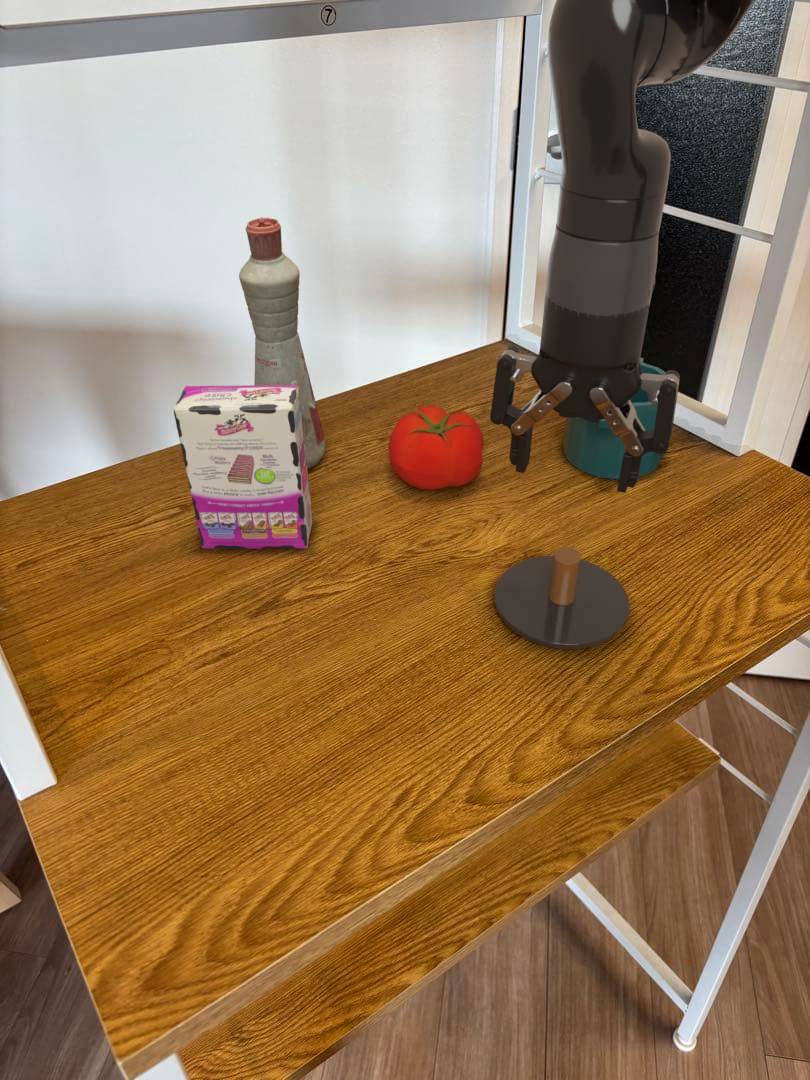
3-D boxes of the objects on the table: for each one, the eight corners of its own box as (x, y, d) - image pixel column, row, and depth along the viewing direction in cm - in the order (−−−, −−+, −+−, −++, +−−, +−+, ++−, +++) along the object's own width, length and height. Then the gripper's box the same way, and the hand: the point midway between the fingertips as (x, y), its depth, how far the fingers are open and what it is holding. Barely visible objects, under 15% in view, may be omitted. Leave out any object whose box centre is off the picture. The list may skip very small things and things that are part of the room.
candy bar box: (313, 521, 89) (301, 382, 79) (308, 550, 85) (294, 408, 75) (209, 521, 89) (183, 382, 79) (199, 550, 85) (171, 408, 75)
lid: (636, 581, 81) (647, 530, 77) (615, 668, 71) (627, 616, 68) (512, 553, 84) (517, 503, 80) (477, 634, 75) (481, 582, 71)
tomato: (370, 478, 95) (368, 421, 91) (433, 442, 101) (434, 387, 97) (440, 515, 89) (442, 456, 85) (502, 474, 96) (507, 417, 91)
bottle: (235, 460, 98) (198, 218, 81) (290, 430, 104) (266, 197, 87) (286, 486, 94) (258, 236, 77) (341, 453, 100) (326, 213, 82)
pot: (668, 428, 104) (683, 357, 98) (650, 500, 91) (666, 424, 86) (577, 412, 107) (587, 344, 101) (549, 480, 95) (557, 406, 89)
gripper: (489, 296, 59) (478, 484, 69) (695, 323, 55) (652, 519, 65) (515, 262, 65) (501, 441, 75) (704, 284, 61) (663, 470, 71)
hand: (572, 477), depth 70 cm, fingers open, 8 cm apart
